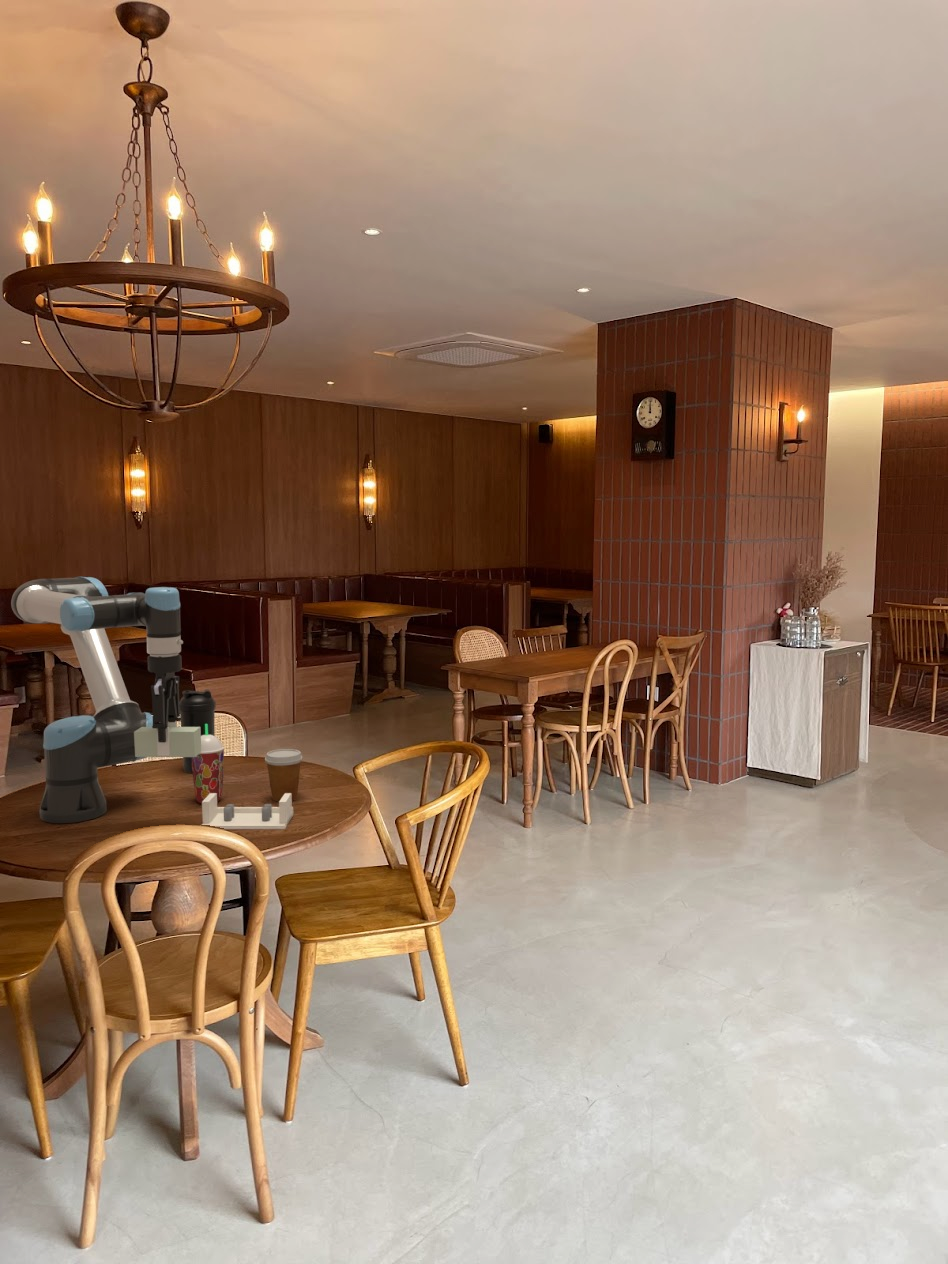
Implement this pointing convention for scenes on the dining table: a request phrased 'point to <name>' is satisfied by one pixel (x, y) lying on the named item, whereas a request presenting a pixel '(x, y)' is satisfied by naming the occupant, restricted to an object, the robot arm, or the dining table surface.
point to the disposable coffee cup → (283, 772)
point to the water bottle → (196, 715)
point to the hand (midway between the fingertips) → (167, 751)
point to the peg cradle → (247, 814)
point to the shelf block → (181, 742)
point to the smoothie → (208, 767)
